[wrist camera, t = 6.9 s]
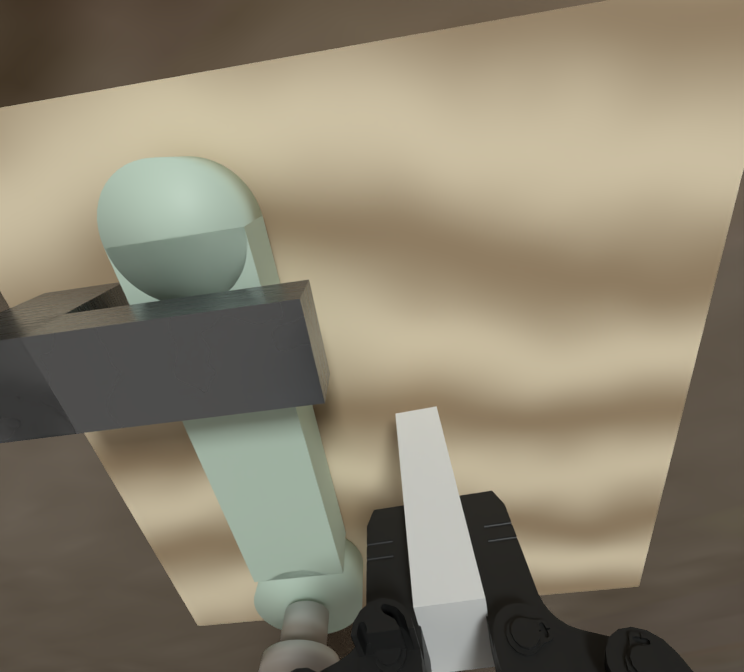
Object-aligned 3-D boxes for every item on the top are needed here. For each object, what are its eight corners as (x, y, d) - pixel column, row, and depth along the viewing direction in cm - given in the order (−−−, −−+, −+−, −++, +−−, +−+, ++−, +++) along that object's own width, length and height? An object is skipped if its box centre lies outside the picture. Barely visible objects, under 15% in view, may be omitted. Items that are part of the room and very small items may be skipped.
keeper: (337, 331, 14) (324, 403, 10) (83, 365, 15) (-23, 445, 11) (321, 252, 13) (300, 298, 9) (44, 293, 14) (-93, 353, 10)
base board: (622, 560, 23) (713, 707, 17) (207, 599, 24) (154, 747, 18) (743, -11, 11) (1157, -189, 5) (-49, 127, 13) (-412, 109, 7)
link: (369, 588, 21) (369, 630, 19) (278, 597, 21) (269, 639, 19) (260, 143, 11) (240, 141, 10) (99, 170, 12) (50, 174, 10)
